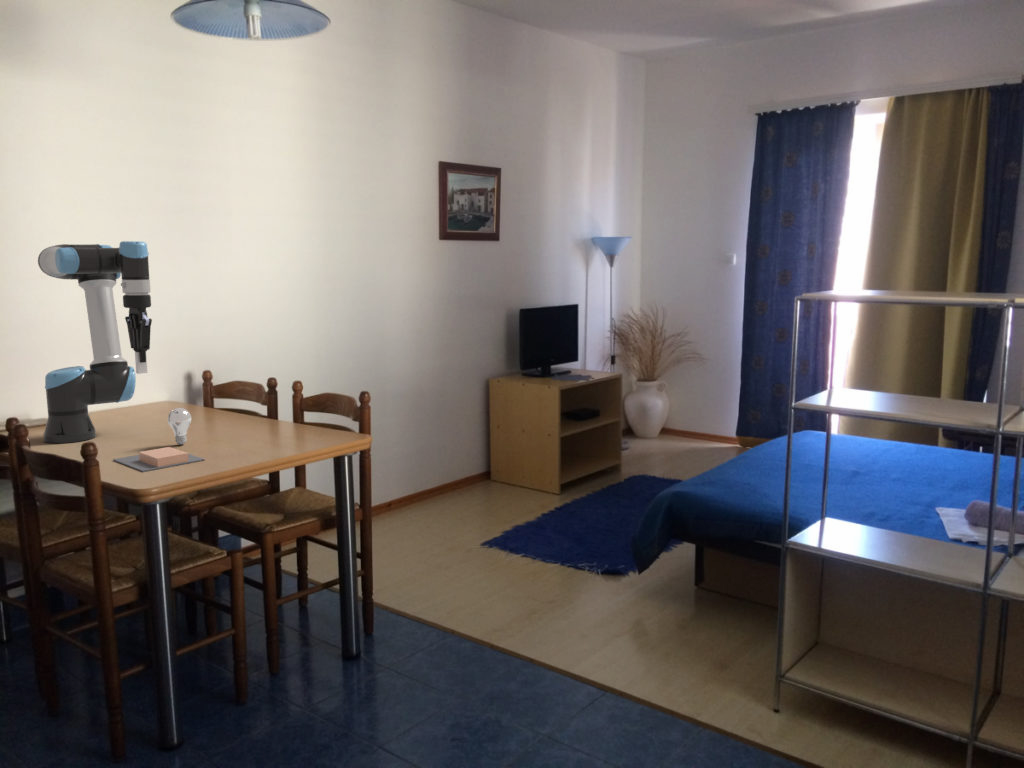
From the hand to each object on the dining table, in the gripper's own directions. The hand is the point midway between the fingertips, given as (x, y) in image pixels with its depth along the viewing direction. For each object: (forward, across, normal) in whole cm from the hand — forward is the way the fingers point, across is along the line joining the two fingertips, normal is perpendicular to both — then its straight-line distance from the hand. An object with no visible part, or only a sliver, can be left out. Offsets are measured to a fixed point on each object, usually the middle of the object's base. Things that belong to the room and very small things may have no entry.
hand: (141, 372), depth 246 cm
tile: (+23, +10, -2) cm, 25 cm away
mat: (+25, +12, -2) cm, 27 cm away
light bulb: (+25, -3, +12) cm, 28 cm away
